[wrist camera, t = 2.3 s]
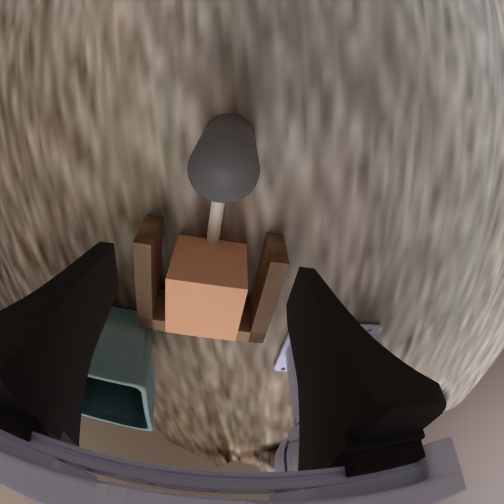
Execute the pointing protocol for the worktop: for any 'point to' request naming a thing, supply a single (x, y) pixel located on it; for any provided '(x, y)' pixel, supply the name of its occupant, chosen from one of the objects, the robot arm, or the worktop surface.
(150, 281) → the lane
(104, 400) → the flower pot
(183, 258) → the tethered block
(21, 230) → the worktop surface
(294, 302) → the robot arm
